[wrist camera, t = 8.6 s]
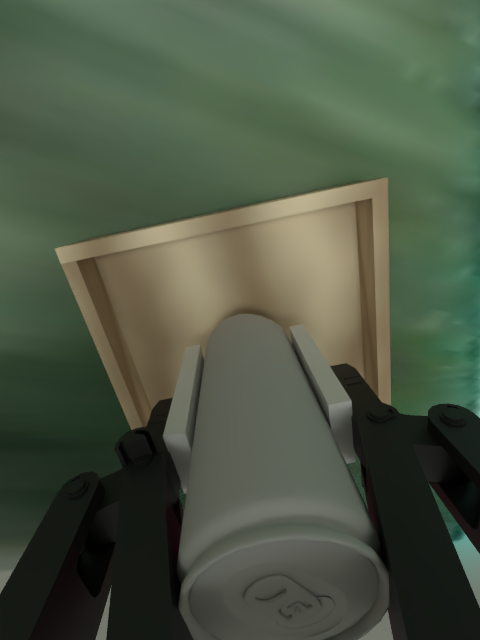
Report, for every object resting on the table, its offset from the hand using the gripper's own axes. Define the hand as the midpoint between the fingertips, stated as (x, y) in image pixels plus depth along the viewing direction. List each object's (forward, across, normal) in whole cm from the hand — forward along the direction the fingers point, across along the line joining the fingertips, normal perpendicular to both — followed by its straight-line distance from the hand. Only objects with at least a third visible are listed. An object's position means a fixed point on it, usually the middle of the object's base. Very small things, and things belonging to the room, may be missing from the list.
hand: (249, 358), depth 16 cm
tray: (+4, 0, 0) cm, 4 cm away
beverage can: (+1, 0, 0) cm, 1 cm away
